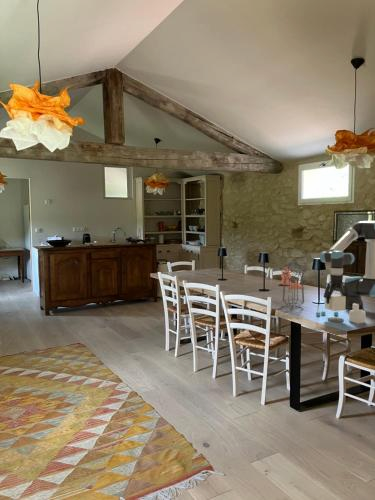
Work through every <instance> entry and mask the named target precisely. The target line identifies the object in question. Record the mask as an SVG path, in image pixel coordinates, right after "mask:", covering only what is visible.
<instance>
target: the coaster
mask: <svg viewBox="0 0 375 500" xmlns="http://www.w3.org/2000/svg"><path fill="white" fill-rule="evenodd" d="M327 321H328V322H333V323H344V321H345V320H344V318H341V317H337V316H334V317H327Z"/></svg>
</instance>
